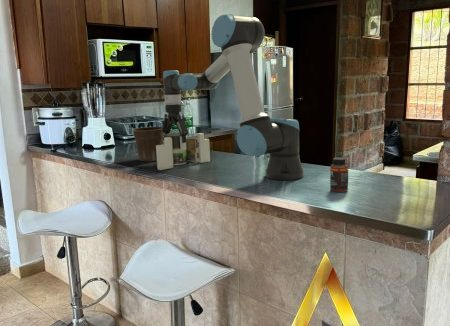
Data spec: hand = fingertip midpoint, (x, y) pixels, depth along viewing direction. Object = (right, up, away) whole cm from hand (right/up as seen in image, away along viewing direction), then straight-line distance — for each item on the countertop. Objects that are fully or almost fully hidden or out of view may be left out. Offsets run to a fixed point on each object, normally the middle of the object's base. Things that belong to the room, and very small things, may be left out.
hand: (176, 148), depth 202 cm
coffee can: (0, -7, +1) cm, 8 cm away
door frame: (+5, -8, -4) cm, 10 cm away
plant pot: (-15, -6, +14) cm, 21 cm away
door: (+4, -6, +7) cm, 10 cm away
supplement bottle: (+63, -17, -58) cm, 87 cm away
